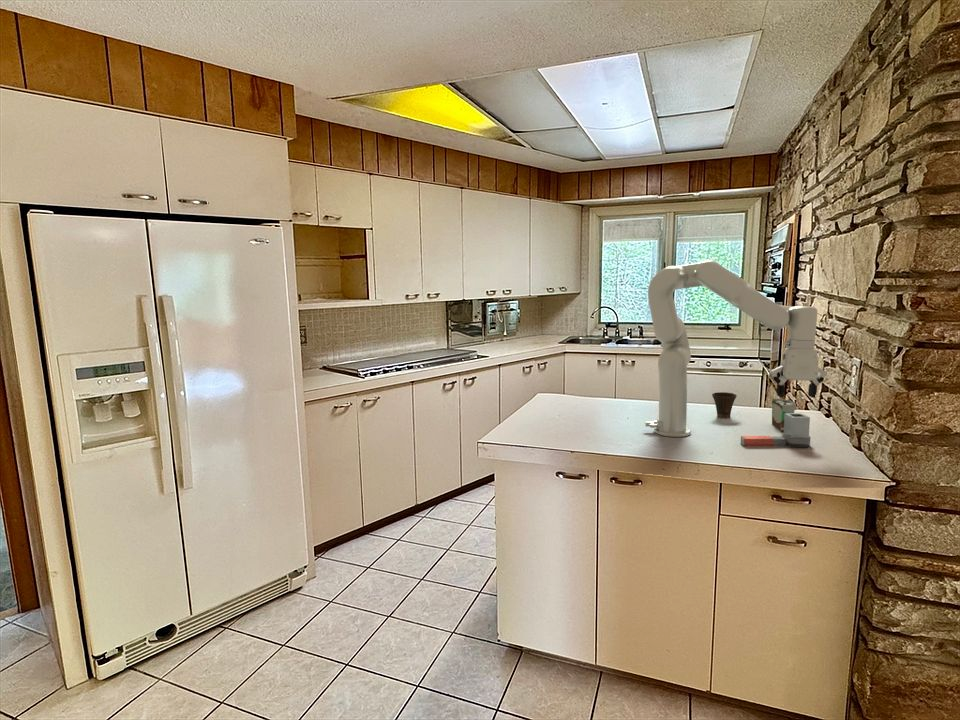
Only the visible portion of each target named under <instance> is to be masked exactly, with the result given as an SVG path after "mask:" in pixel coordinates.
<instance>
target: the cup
mask: <svg viewBox="0 0 960 720" xmlns="http://www.w3.org/2000/svg"><path fill="white" fill-rule="evenodd" d="M711 396H712V398H713V400H714V404H715V409H716V416H717V418H718V419H731V413H732V409H733V404H734V402H735V400H736V398H737V394H736V393H733V392H725V391H722V392H721V391H720V392H714V393H712V394H711Z"/></svg>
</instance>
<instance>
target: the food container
mask: <svg viewBox="0 0 960 720" xmlns="http://www.w3.org/2000/svg"><path fill="white" fill-rule="evenodd" d="M796 410H797V404H796V402H795V401H793V400H789V399H785V398H771V426H772V427H774V428H775V430H778V431H779V432H780V433H784V416H785V413H795V411H796Z"/></svg>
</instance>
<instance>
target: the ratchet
mask: <svg viewBox="0 0 960 720" xmlns="http://www.w3.org/2000/svg"><path fill="white" fill-rule="evenodd" d="M740 445H741V446H743V447H746V448H747V447H750V448H751V447H788V448H792V449H803V450H804V449H808V448H809V449H810V447H811V436H810V435H809V438H790V437H788V436H786V435H785V434H784V433H782V435H781V436H770V435H741V436H740Z"/></svg>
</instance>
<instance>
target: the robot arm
mask: <svg viewBox="0 0 960 720" xmlns="http://www.w3.org/2000/svg"><path fill="white" fill-rule="evenodd" d="M702 286H703V287H705V288H706V289H707V290H709V291H711V292H713V293H714V294H715V295H717V296H718V297H720V298H722V299H723V300H724V301H726V302H727V303H729V304H730V305H731V306H733V307H735V308H737V310H738V309H739V310H740V311H742V312H743V313H745V314H746V315H748V316H749V317H750V318H752V319H754V320H755V321H757V322H758V323H760V324H761V325H763V326H764V327H765V328H768V329H770V330H774V331H777V330H781V329H783V328H786V327H788V330H787V331H788V335H787V339H786V340H784V341H782V345H783V346H786V348H784V350H783V354H782V356H781V361H780V365H779V366H777V367H775V368H773V369H771V370H769V375H770V376H771V379H772V380H773V381H774V382H775V383H776V394H777V396H778V397H780V398H784V396H785V387H786V386H785V385H784V384H785V383H786V382H787V381H807V382H808V381H809V382H810V383H809V385H808V393H807V394H808V397H810V398H812V399H815V398H816V396H817V393H818V386H820V384H821V383H822V382H823V381H824V380H825V378H826V377H827V375H828V372H827V371H825V370H824V369H821V368H820V367H819V355H818V354H819V353H818V350H817V349H815V345H816V344H815V343H816V333H817V325H818V324H817V323H818V309H817V308H816V307H815V306H807V305H796V306H792V305H791V306H790V305H789V306H788V305H783V304H782V305H781V304H778V303H776V302H774V301H773V300H772V299H770V298H768V297H766V296H765V295H764V294H762V293H761V292H759V291H758V290H756V288H754V287H753V286H752V285H751V283H749V282H748V281H747V280H745V279H743V278H742V277H740V276H739V275H736V273H734V272H732V271H730V270H729V269H728V268H726V267H724V266H722V265H721V264H720V263H719V262H718V261H715V260H712V259H706V260H703V261H700V262H695V263H689V264H681V265H669V266H666V267H663V268H661V270H659V271H658V272H657V273H656V274H655V275H654V276H653V277H652V279H651V280H650V282H649V286H648V289H647V299H648V304H649V309H650V315H651V316H650V317H651V321H652V325H653V332H654V336H655V337H656V340H658V342H660V343H661V347H662V351H661V353H660V354H659V356H658V362H657V363H658V364H657V366H658V367H657V368H658V418H657V417H656V420H654V421H650V420H649V421H645V422H644V426H645V427H646V428H647V427H649V428H651V429H653V431H654V433H656V434H658V435H660V436H662V437H663V436H664V437H670V438H671V437H672V438H673V437H674V438H675V437H676V438H681V437H682V438H683V437H686V436H689V435H691V433H692V430H691V429H690V428H689V427H687V411H688V410H687V409H688V408H687V407H688V406H687V405H688V402H687V401H688V365H689V364H690V361H691V357H692V353H691V348H690V343H689V338H688V334H687V333H688V332H687V330H686V329H687V327H686V326H685V323H684V321H683V319H681V318H680V317H679V316H678V314H677V309H676V303H675V300H674V292H675V291H676V290H682V289H688V288H689V289H690V288H696V287H702ZM778 373H779V375H780V376H779V377H778V376H777V374H778Z"/></svg>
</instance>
